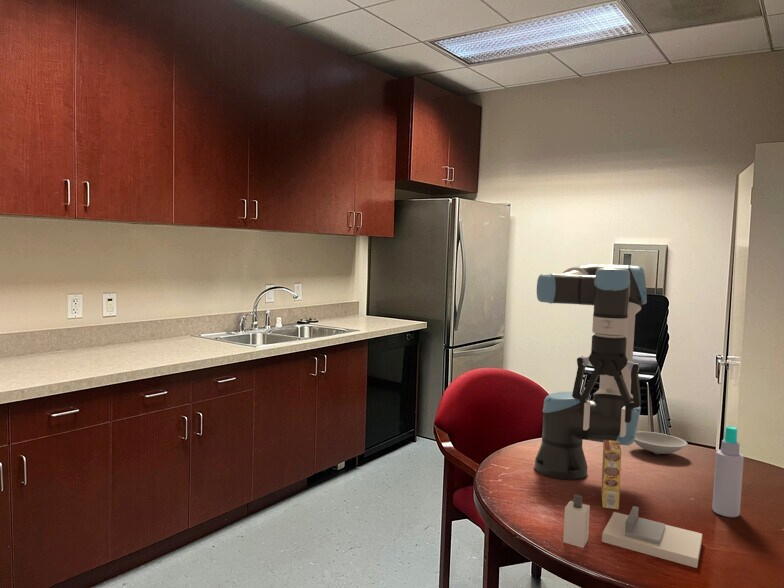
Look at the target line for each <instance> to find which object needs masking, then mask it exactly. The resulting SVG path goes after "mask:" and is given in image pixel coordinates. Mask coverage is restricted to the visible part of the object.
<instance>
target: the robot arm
mask: <svg viewBox="0 0 784 588" xmlns="http://www.w3.org/2000/svg"><path fill="white" fill-rule="evenodd" d="M646 282H647V281H646V274H645V269H644V268H643V267H641V266H640V265H630V264H626V265H625V264H597V263H595V264H593V263H590V264H583V265H578V266H574V267H573V266H572V267H569V268H567V269H565V270H564V271H563V272H562V273H551V272H550V273H540V274H539V275H538V278H537V281H536V298H537V300H538V302H541V303H547V304H550V305H551V304H566V305H583V306H593V315H592V328H591V329H592V330H591V331H592V333H593V335H592V336H591V350H590V351H591V352H590V354H589V356H582V355H581V356H579V357H577V358H576V364H577V370H576V375H575V380H574V383H573V384H574V385H573V389H572V391H558V392H553V393H550V394H548V395H546V396H545V398H544V399H543V409H542V433H541V444H540V446H539V449H538V451H537V454H536V457H535V460H534V468H535V470H536V471H537V472H538V473H540V474H542V475H544V476H546V477H550V478H554V479H558V480H559V479H560V480H580V479H583V478H585V477H586V476H587V475H588V463H587V459H586V455H585V451H584V448H583V441H584V440H585V441H591V442H599V443H603V441H604V440H612V441H619V444H620V446H632V445H633V444H634V443H635V442H634V440H635V436H636V432H638V430H637V429H638V424H639V421H640V415H641V409H642V408H641V407H642V406H641V405H642V398H641V387H640V377H639V371H640V367H641V363H639V362H633V357H634V342H635V326H636V325H635V324H636V314H638V313H639V312H640V311H641V310H642V305H645V304H647V302H648V301H647V300H648V299H647V297H648V296H647V283H646ZM589 363H590V364H591V366H592V368H593V371H592V373H591V375H590V378H589V380H588V381H587V383H586V386H585V387H584V390H583V392H581V390H582V385H583V381H584V376H585V373H586V366H587V365H589ZM598 378H599V388H598V390H596V391H595V392H594V393H593V395H592V399H589V397H590V394H591V392H592V390H593V388H594V386H595V384H596V382H597V380H598ZM631 392H632V393H631Z"/></svg>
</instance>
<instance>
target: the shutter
mask: <svg viewBox="0 0 784 588" xmlns="http://www.w3.org/2000/svg"><path fill="white" fill-rule="evenodd" d="M639 510H640V509H639V506H636V505H635V506H634V505H633V506H632V508H631V510H630V512H629V514H628V515H629V516H628V518H627V520H626V526H625V535H626V536H629V537H633V538H637V539H641V540H644V541H648V542H652V543H656V544H660V541H661V538H662V535H663V532H664V529H665V525H666V523H664V522H658V521H655V520H651V519H648V518H643V517H639Z"/></svg>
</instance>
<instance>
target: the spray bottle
mask: <svg viewBox="0 0 784 588" xmlns="http://www.w3.org/2000/svg"><path fill="white" fill-rule="evenodd" d="M737 438H738V428H737V427H735V426H728V425H727V426H725V436H724V439H722V440H721V443H720V444H721V445H720V449H716V451H715V459H714V460H715V461H714V462H715V464H714V478H713V489H712V490H713V494H712V505H711V506H712V507H711V508H712V510H713V512H714V513H715V514H717V515H720V516H722V517H725V518H726V517H727V518H737V517H739V516H740V514H741V502H742V501H741V500H742V487H743V472H744V461H745V460H744V458H745V455H744V454H742V453H741V452H740V442H739V441H737V440H738V439H737Z"/></svg>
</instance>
